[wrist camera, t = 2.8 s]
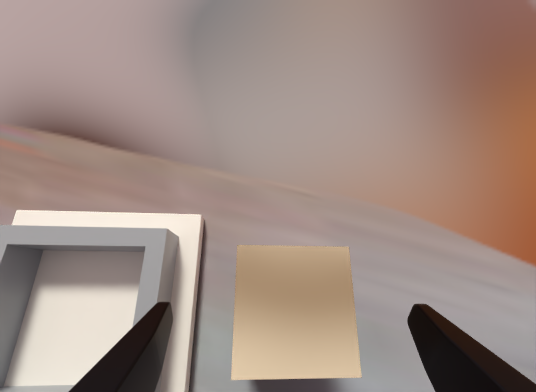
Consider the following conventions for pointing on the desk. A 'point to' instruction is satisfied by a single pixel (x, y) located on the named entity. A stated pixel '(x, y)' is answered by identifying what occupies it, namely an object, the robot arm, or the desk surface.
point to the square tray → (92, 292)
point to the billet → (294, 314)
